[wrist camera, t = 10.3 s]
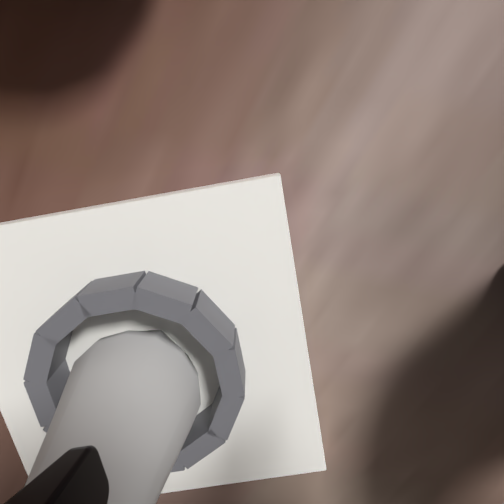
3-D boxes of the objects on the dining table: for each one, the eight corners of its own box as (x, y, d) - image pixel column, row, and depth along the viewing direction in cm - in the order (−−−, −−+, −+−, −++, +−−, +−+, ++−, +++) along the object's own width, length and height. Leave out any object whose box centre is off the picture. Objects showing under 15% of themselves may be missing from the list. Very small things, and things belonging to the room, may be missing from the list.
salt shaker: (182, 431, 21) (90, 844, 9) (74, 395, 21) (-191, 786, 8) (222, 335, 20) (183, 662, 7) (108, 294, 19) (-146, 575, 7)
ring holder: (278, 172, 19) (283, 180, 16) (323, 455, 23) (333, 502, 20) (-56, 232, 20) (-109, 251, 17) (50, 495, 24) (23, 544, 21)
